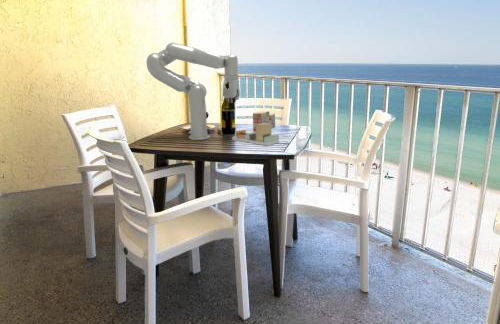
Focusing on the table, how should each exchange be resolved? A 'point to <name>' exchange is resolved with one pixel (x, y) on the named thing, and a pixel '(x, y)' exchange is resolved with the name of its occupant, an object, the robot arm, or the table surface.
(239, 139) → the vise
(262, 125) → the brass block
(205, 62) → the robot arm
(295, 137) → the table surface
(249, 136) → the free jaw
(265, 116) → the stack of blocks
